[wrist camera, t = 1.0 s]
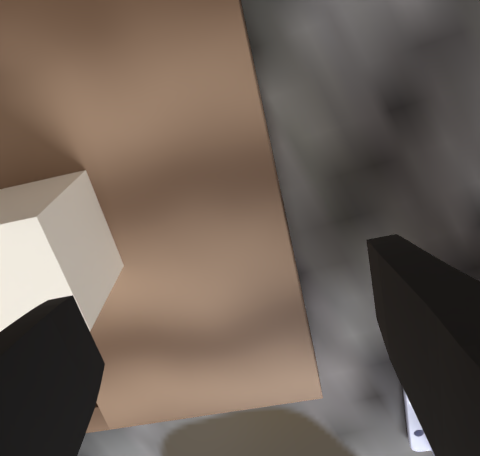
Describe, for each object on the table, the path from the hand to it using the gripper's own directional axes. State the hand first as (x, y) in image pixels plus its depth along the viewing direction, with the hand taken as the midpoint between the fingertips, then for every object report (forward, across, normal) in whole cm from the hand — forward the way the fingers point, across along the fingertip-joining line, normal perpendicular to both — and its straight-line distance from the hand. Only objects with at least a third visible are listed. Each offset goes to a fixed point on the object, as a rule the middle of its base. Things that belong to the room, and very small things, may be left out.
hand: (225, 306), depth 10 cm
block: (+7, +7, 0) cm, 10 cm away
